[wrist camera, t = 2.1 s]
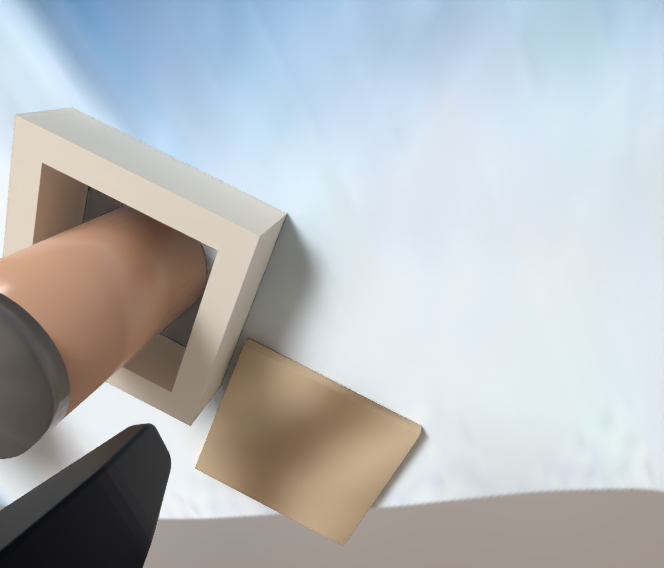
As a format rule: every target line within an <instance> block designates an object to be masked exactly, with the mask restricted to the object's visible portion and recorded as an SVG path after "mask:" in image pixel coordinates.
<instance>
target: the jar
mask: <svg viewBox="0 0 664 568" xmlns="http://www.w3.org/2000/svg"><path fill="white" fill-rule="evenodd" d="M206 278H207V264H206V258H205V255H204V251H203V249H202V247H201V244H200V242H199V241H198V240H196V239H194V238H192V237H190V236H188V235H186V234H184V233H182V232H180V231H178V230H176V229H174V228H172V227H170V226H168V225H166V224H164V223H162V222H160V221H158V220H156V219H154V218H152V217H150V216H148V215H146V214H144V213H142V212H140V211H138V210H136V209H134V208H132V207H130V206H128V205H125V206H123V207H120V208H118V209H116V210H113V211H111V212H109V213H106V214H104V215H102V216H99V217H97V218H95V219H92V220H90V221H88V222H85V223H83V224H81V225H78V226H76V227H74V228H71V229H69V230H67V231H64V232H62V233H59V234H57V235H55V236H52V237H50V238H48V239H45V240H43V241H41V242H38V243H36V244H34V245H31V246H29V247H27V248H24V249H22V250H20V251H17V252H15V253H13V254H10V255H8V256H6V257H3V258H1V259H0V459H6V458H12V457H16V456H19V455H21V454H23V453H24V452H26V451H27V450H28V449H29V448H31V447H32V446H33V445H34V444H35V443H36V442H37V441H38V440H40V439H41V438H42V437H43V436H44V435H45V434H46V433H48V432H49V431H50V430H51V429H52V428H53V427H54V426H55V425H57V424H58V423H59V422H60V421H61V420H62V419H63V418H64V417H66V416H67V415H68V414H69V413H70V412H71V411H72V410H73V409H75V408H76V407H77V406H78V405H79V404H80V403H81V402H83V401H84V400H85V399H86V398H87V397H88V396H89V395H90V394H92V393H93V392H94V391H95V390H96V389H97V388H98V387H99V386H101V385H102V384H103V383H104V382H105V381H106V380H107V379H109V378H110V377H111V376H112V375H113V374H114V373H115V372H116V371H118V370H119V369H120V368H121V367H122V366H123V365H124V364H125V363H127V362H128V361H129V360H130V359H131V358H132V357H133V356H134V355H136V354H137V353H138V352H139V351H140V350H141V349H142V348H144V347H145V346H146V345H147V344H148V343H149V342H150V341H151V340H153V339H154V338H155V337H156V336H157V335H158V334H159V333H160V332H162V331H163V330H164V329H165V328H166V327H167V326H168V325H169V324H171V323H172V322H173V321H174V320H175V319H176V318H177V317H179V316H180V315H181V314H182V313H183V312H184V311H185V310H186V309H188V308H189V307H190V306H191V305H192V304H193V303H194V302H195V301H196V300H197V299H198V298H199V297H200V295H201V293H202V292H203V289H204V287H205V283H206Z"/></svg>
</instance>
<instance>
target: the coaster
mask: <svg viewBox="0 0 664 568" xmlns="http://www.w3.org/2000/svg"><path fill="white" fill-rule="evenodd" d="M420 434H421V426H420V425H418V424H416V423H414V422H412V421H410V420H408V419H406V418H404V417H402V416H400V415H398V414H396V413H395V412H393V411H391V410H389V409H387V408H385V407H383V406H381V405H379V404H377V403H375V402H373V401H371V400H369V399H367V398H365V397H363V396H361V395H359V394H357V393H355V392H353V391H351V390H349V389H347V388H345V387H343V386H341V385H339V384H338V383H336V382H334V381H332V380H330V379H328V378H326V377H324V376H322V375H320V374H318V373H316V372H314V371H312V370H310V369H308V368H306V367H304V366H302V365H300V364H298V363H296V362H294V361H292V360H290V359H288V358H286V357H284V356H283V355H281V354H279V353H277V352H275V351H273V350H271V349H269V348H267V347H265V346H263V345H261V344H259V343H257V342H255V341H253V340H251V339H248V340H247V341H246V343H245V344H244V345H243V348H242V350H241V353H240V356H239V358H238V361H237V363H236V366H235V368H234V371H233V373H232V376H231V378H230V381H229V383H228V386H227V388H226V391H225V393H224V396H223V399H222V401H221V404H220V406H219V409H218V411H217V414H216V416H215V419H214V421H213V424H212V426H211V429H210V431H209V434H208V436H207V439H206V442H205V444H204V447H203V449H202V452H201V454H200V457H199V459H198V462H197V464H196V467H195V469H197V470H199V471H201V472H203V473H205V474H207V475H209V476H210V477H212V478H214V479H216V480H218V481H220V482H222V483H224V484H226V485H228V486H230V487H231V488H233V489H235V490H237V491H239V492H241V493H243V494H245V495H247V496H249V497H250V498H252V499H254V500H256V501H258V502H260V503H262V504H264V505H266V506H268V507H269V508H271V509H273V510H275V511H277V512H279V513H281V514H283V515H285V516H287V517H289V518H290V519H292V520H294V521H296V522H298V523H300V524H302V525H304V526H306V527H308V528H310V529H311V530H313V531H315V532H317V533H319V534H321V535H323V536H325V537H327V538H329V539H330V540H332V541H334V542H336V543H338V544H340V545H342V546H344V544H345V543H346V542H347V540H348V539H349V537H350V536H351V534H352V533H353V531H354V530H355V529H356V527H357V526H358V524H359V523H360V521H361V520H362V518H363V517H364V516H365V514H366V513H367V511H368V510H369V508H370V507H371V505H372V504H373V503H374V501H375V500H376V498H377V497H378V495H379V494H380V492H381V491H382V490H383V488H384V487H385V485H386V484H387V482H388V481H389V479H390V478H391V477H392V475H393V474H394V472H395V471H396V469H397V468H398V466H399V465H400V464H401V462H402V461H403V459H404V458H405V456H406V455H407V453H408V452H409V451H410V449H411V448H412V446H413V445H414V443H415V442H416V440H417V439H418V438H419V436H420Z"/></svg>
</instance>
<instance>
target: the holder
mask: <svg viewBox="0 0 664 568" xmlns="http://www.w3.org/2000/svg"><path fill="white" fill-rule="evenodd" d="M88 186H90V187H92V188H94V189H96V190H98V191H100V192H102V193H104V194H106V195H108V196H110V197H112V198H114V199H116V200H118V201H120V202H122V203H124V204H126V205H128V206H130V207H132V208H134V209H136V210H138V211H140V212H142V213H144V214H146V215H148V216H150V217H152V218H154V219H156V220H158V221H160V222H162V223H164V224H166V225H168V226H170V227H172V228H174V229H176V230H178V231H180V232H182V233H184V234H186V235H188V236H190V237H192V238H194V239H196V240H198V241H200V242H202V243H204V244H206V245H208V246H210V247H212V248H214V249H216V250H218V251H217V254H216V258H215V261H214V264H213V267H212V270H211V273H210V276H209V279H208V282H207V285H206V288H205V291H204V294H203V298H202V301H201V304H200V307H199V310H198V313H197V316H196V319H195V322H194V325H193V328H192V331H191V334H190V338H189V341H188V344H187V347H184V346H182V345H180V344H178V343H176V342H174V341H172V340H170V339H168V338H166V337H164V336H163V335H161V334H158V335H157V336H156V337H155V338H154V339H153V340H151V341H150V342H149V343H148V344H147V345H146V346H145V347H144V348H142V349H141V350H140V351H139V352H138V353H137V354H136V355H134V356H133V357H132V358H131V359H130V360H129V361H128V362H127V363H125V364H124V365H123V366H122V367H121V368H120V369H119V370H118V371H116V372H115V373H114V374H113V375H112V376H111V377H110V378H109V379H107V380H106V381H105V382H107V383H109V384H111V385H113V386H115V387H117V388H119V389H121V390H122V391H124V392H126V393H128V394H130V395H132V396H134V397H136V398H138V399H140V400H142V401H144V402H145V403H147V404H149V405H151V406H153V407H155V408H157V409H159V410H161V411H163V412H165V413H167V414H169V415H170V416H172V417H174V418H176V419H178V420H180V421H182V422H184V423H186V424H188V425H190V426H191V424H192V423H193V422H194V421H195V419H196V418H197V417H198V415H199V414H200V413H201V411H202V410H203V409H204V407H205V406H206V405H207V403H208V402H209V401H210V400H211V398H212V397H213V396H214V394H215V393H216V392H217V390H218V389H219V388H220V386H221V383H222V380H223V378H224V375H225V373H226V370H227V367H228V365H229V362H230V360H231V357H232V354H233V352H234V349H235V347H236V344H237V341H238V339H239V336H240V334H241V331H242V329H243V326H244V323H245V321H246V318H247V316H248V313H249V310H250V308H251V305H252V303H253V300H254V297H255V295H256V292H257V290H258V287H259V284H260V282H261V279H262V277H263V274H264V272H265V269H266V266H267V264H268V261H269V259H270V256H271V253H272V251H273V248H274V246H275V243H276V240H277V238H278V235H279V233H280V230H281V227H282V225H283V222H284V220H285V217H286V214H287V213H285V212H283V211H281V210H279V209H277V208H275V207H273V206H271V205H269V204H267V203H265V202H263V201H261V200H259V199H257V198H255V197H253V196H251V195H249V194H247V193H245V192H243V191H241V190H239V189H237V188H235V187H233V186H230V185H228V184H226V183H224V182H222V181H220V180H218V179H216V178H214V177H212V176H210V175H208V174H206V173H204V172H202V171H200V170H198V169H196V168H194V167H192V166H190V165H188V164H186V163H184V162H182V161H180V160H178V159H176V158H174V157H172V156H170V155H168V154H166V153H164V152H162V151H160V150H158V149H156V148H154V147H152V146H150V145H148V144H146V143H143V142H141V141H139V140H137V139H135V138H133V137H131V136H129V135H127V134H125V133H123V132H121V131H119V130H117V129H115V128H113V127H111V126H109V125H107V124H105V123H103V122H101V121H99V120H97V119H95V118H93V117H91V116H89V115H87V114H85V113H83V112H81V111H79V110H77V109H75V108H73V107H72V108H64V109H56V110H48V111H40V112H32V113H24V114H16V115H15V122H14V133H13V145H12V156H11V168H10V180H9V191H8V203H7V214H6V226H5V237H4V249H3V257H6V256H8V255H10V254H13V253H15V252H17V251H20V250H22V249H24V248H27V247H29V246H31V245H34V244H36V243H38V242H41V241H43V240H45V239H48V238H50V237H52V236H55V235H57V234H59V233H62V232H64V231H67V230H69V229H71V228H74V227H76V226H78V225H81V224H82V222H83V216H84V210H85V204H86V198H87V192H88Z"/></svg>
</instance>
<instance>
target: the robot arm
mask: <svg viewBox="0 0 664 568" xmlns="http://www.w3.org/2000/svg"><path fill="white" fill-rule="evenodd" d="M170 469H171V458H170V454H169V452H168V450H167V448H166V446H165V444H164V442H163V440H162V438H161V437H160V435H159V433H158V431H157V429H156V427H155V426H154V425H152V424H150V423H147V424H140V425H133V426H130V427H128V428H126V429H125V430H123V431H122V432H120V433H119V434H117V435H116V436H114V437H112V438H111V439H109V440H108V441H106V442H105V443H103V444H102V445H100V446H99V447H97V448H96V449H94V450H93V451H91V452H89V453H88V454H86V455H85V456H83V457H82V458H80V459H79V460H77V461H76V462H74V463H73V464H71V465H70V466H68V467H66V468H65V469H63V470H62V471H60V472H59V473H57V474H56V475H54V476H53V477H51V478H50V479H48V480H47V481H45V482H43V483H42V484H40V485H39V486H37V487H36V488H34V489H33V490H31V491H30V492H28V493H27V494H25V495H24V496H22V497H20V498H19V499H17V500H16V501H14V502H13V503H11V504H10V505H8V506H7V507H5V508H4V509H2V510H1V511H0V568H142V567H143V565H144V562H145V559H146V557H147V554H148V551H149V548H150V545H151V542H152V539H153V535H154V532H155V528H156V525H157V521H158V517H159V513H160V509H161V505H162V501H163V497H164V493H165V489H166V486H167V482H168V478H169V474H170Z"/></svg>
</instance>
